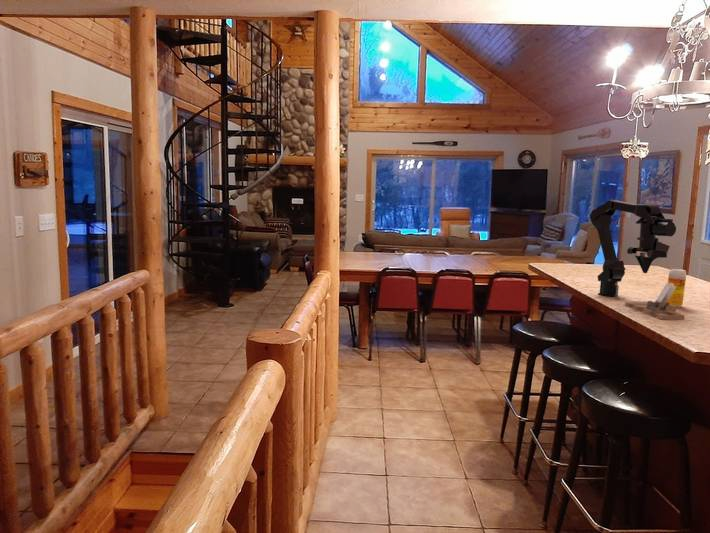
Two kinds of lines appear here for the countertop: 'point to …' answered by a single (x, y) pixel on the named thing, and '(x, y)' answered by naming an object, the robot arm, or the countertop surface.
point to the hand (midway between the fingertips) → (645, 273)
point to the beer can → (677, 286)
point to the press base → (655, 309)
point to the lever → (665, 295)
